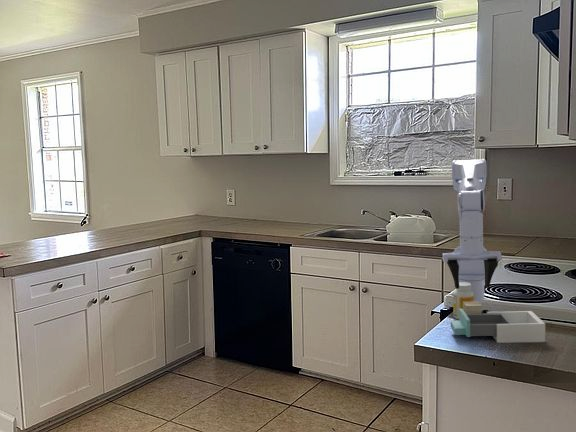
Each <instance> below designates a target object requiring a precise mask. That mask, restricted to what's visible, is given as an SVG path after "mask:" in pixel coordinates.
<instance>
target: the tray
mask: <svg viewBox="0 0 576 432" xmlns="http://www.w3.org/2000/svg"><path fill="white" fill-rule="evenodd" d="M497 324H510V322H509V321H508V320H507V319H506V318H505V317H504V316H503V314H487V313H482V314H473V315H466V313H465V312H464V310H463V309H459V319H458V320H450V328H451V330H452V332H453V333H454V335H456V336H457V335H458V336H459V335H461V336H463V335H465V336H466V337H467V338H471V337H487V336H489V337H490V336H491V337H493V336H497Z"/></svg>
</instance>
